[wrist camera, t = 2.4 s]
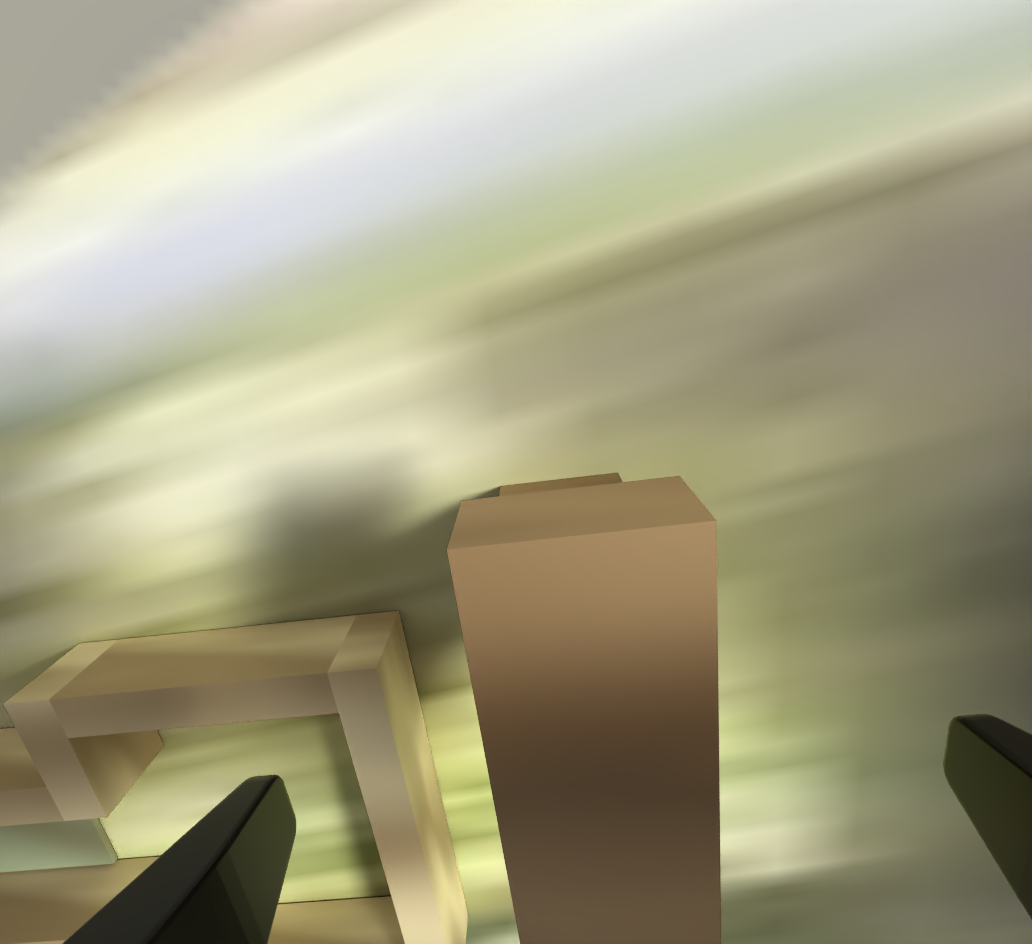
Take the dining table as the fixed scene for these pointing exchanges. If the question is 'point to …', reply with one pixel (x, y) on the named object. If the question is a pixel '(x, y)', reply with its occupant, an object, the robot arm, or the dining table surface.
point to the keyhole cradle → (209, 701)
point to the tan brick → (598, 703)
